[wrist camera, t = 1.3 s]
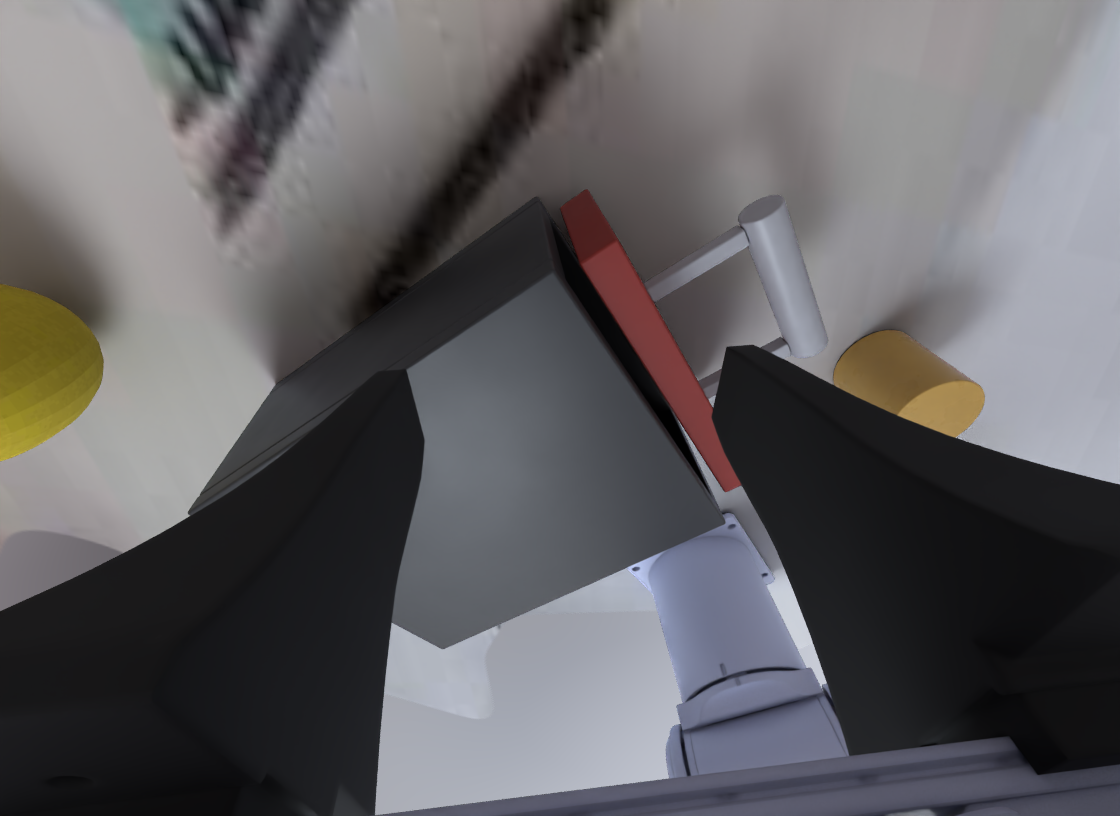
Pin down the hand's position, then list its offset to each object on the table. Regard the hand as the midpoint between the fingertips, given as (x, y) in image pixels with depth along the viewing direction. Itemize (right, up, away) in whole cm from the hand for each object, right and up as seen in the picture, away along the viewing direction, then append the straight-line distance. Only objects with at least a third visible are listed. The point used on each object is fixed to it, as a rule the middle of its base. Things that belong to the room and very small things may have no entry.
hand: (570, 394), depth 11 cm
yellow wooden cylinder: (+16, +2, +13) cm, 21 cm away
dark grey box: (-4, 0, +12) cm, 13 cm away
